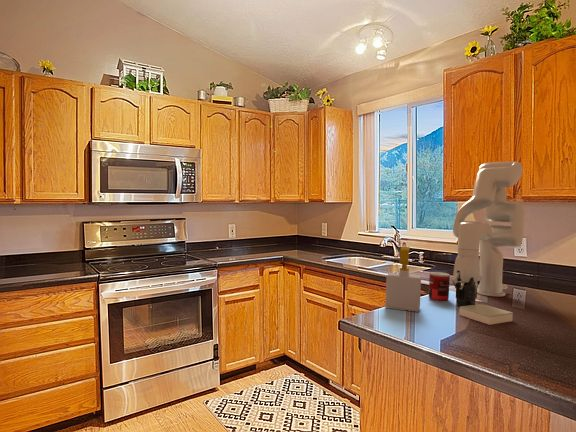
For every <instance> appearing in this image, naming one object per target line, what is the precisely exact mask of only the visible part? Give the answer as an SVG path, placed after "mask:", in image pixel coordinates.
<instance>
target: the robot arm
mask: <svg viewBox="0 0 576 432" xmlns="http://www.w3.org/2000/svg"><path fill="white" fill-rule="evenodd" d="M523 170H524V169H523V166H522V163H520V162H519V161H493V162H484V163H483V164H481V165H480V166H479V167H478V172H477V174H476V177H475V182H474V186H473V191H472V196H471V198H470V199H469V200H467V201H466V202H465V203H464V204H462V206H461V207H460V208H459V209H458V210H457V211H456V215H455V218H454V221H453V225H452V233H453V235H454V237H455V238H457V239H458V241H457V243H458V245H457V256H456V258H455V261H454V265H453V273H452V275H453V277H452V278H451V282H452V283H453V286H454V289H455V299H456V300H457V299H460V300H463V296H464V290H463V286H464V284H465V283H468V282H469V281H470V278H471V277H474V282H473V283H474V284H475V285H476V299H477V298H478V297H477V296H478V295H482V296H485V297H486V296H487V297H495V298H499V297H501V298H502V297H505V296H506V292H505V291H503V290H506V289H508V285H507V284H503V267H504V254H503V253H502V252H501V249H500V248H499V247H501V248H502V247H503V248H512V249H513V248H516V249H517V248H519V247H521V246H522V243H523V238H524V228H525V227H524V226H525V207H524V205H523V204H522V203H521V202H520V201H519V202H518V201H507V195H508V194H507V193H508V192H507V191H508V190H507V189H506V188H511V187H514V186H515V184H517V183H518V182H519V180H520V179H521V178H522V176H523ZM483 209H484V210H483ZM480 210H483V211H484V212H483V213H484V214H483V215H484V216H483V217H484V219H485V220H486V221H487V222H485V221H472V220H471V221H470V220H466V219H467V217H468V216H469V215H471V214H472V213H475V212H477V211H480ZM488 222H491V223H504V224H505V223H506V224H507V223H508V224H511V225H499V224H489V223H488ZM459 283H461V285H460V284H459Z"/></svg>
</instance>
